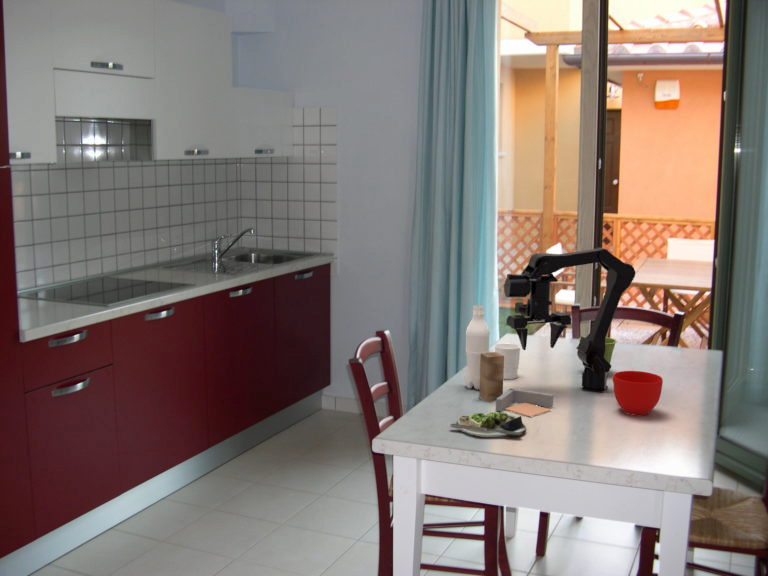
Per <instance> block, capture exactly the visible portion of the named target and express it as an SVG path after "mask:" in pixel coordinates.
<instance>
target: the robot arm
mask: <svg viewBox="0 0 768 576" xmlns="http://www.w3.org/2000/svg"><path fill="white" fill-rule="evenodd" d="M596 263H599V265H600V266H601V267H602V268H603V269H604V270H606V271H607V272H606V276H605V277H606V279H605V284H606V289H605V292H604V294H603V298H602V299H601V303H600V306H599V308H598V311H597V314H596V316H595V319H594V322H593V325H592V327H591V330H590V332H589V333H588V334H587V336H580V337H579V338H580V341H579V344H578V345H577V346H576V347H575V349H577V352H576V353H577V354H576V355H577V357H578V359H579V360H580V361H581V362H582V365H583V367H584V366H586V368H584V371H583V372H582V374H581V375H582V376H581V386H582V387H581V390H585V391H591V392H597V393H604V392H605V391H606V390H607V389H608V388H609V386H608V375H607V372H608V373H610V371H611V368H612V364H611V363H610V364H609V363H608V362H607V361H606V359H605V358H604V355H605V350H606V346H605V338H606V337H607V335H608V332H609V329H610V328H611V325H612V322H613V320H614V316H615V313H616V311H617V308H618V306H619V303H620V300H621V297H622V296H623V294H624V293H625V291H627V289H628V288H630V286H631V284H632V283H633V281H634V279H635V277H636V270H635V268H634V266H633V264H632V265H631V264H630V263H627V262H623V261H622V260H621V259H619V258H618V257H616V256H615V255H613V254H612V253H611V252H610V251H609V250H608V249H606V248H603V247H596V248H592V249H586V250H580V251H571V252H565V253H560V254H559V253H548V252H547V253H543V252H537V253H534V254H533V253H532V255H531V257H530V258H529V260H528V264H527V266H526V267H524V269H523V271H522V272H521V273H520V274H512V273H507V274H506V278H505V281H504V284H503V292H504V296H505V298H526V297H528V296H529V298H528V299H527V301H526V302H527V303H525V304H524V302H523V301H520V302H519V301H517V302H515V304H514V312H515V314H511V315H508V316H507V317H506V323H505V325H507V326H509V327H510V328H511V329H514V330H515V332H516V334H517V336H518V339H519V342H520V347H521V349H522V351H526V349H527V343H528V331H529V329H528V328H527V326H528V325H530V324H531V325H533V324H534V325H535V324H546V323H547V324H548V323H549V326H550V327H549V328H550V338H549V339H550V341H549V342H550V345H549V347H550V348H551V349H554V347H555V346H556V344H557V341H558V340H559V338H560V336H561V334H562V333H563V332H564V330H565V329H567V328H568V326H571V325H572V320H573V319H572V316H571V315H570V314H568V313H565V312H561V311H560V312H551V314H550V306H553V305H552V304H553V301H551V283H555V282H558V281H559V280H558V278H556V277H555V275H554V274H553V273H556V272H558V271H560V270H561V269H565V268H570V267H571V268H572V267H577V266H585V265H590V264H596ZM584 337H586V338H584Z"/></svg>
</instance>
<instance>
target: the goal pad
mask: <svg viewBox="0 0 768 576" xmlns="http://www.w3.org/2000/svg"><path fill="white" fill-rule="evenodd" d="M506 410H507V412H510V411H512V412H511V413H513V412H515V413H514V414H517V413H519V414H518V415H520V414H523V415H526V416H525V417H527V416H530V417H531V416H534V417H536V416H535V415H538V414H541V413H544V412H547V413H549V412H548V411H550V410H551V408H548V407H541V406H536V405H533V404H529V403H517V404H515V405H512V406H511V405H510V406H508V407H507V408H505V409H504V411H506ZM550 412H551V411H550ZM544 414H545V413H544ZM523 415H522V416H523ZM541 415H542V414H541ZM538 416H539V415H538ZM530 417H529V418H530ZM531 418H532V417H531Z"/></svg>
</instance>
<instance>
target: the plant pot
mask: <svg viewBox="0 0 768 576" xmlns="http://www.w3.org/2000/svg"><path fill="white" fill-rule="evenodd" d="M583 337H584V338H586V337H587V336H583ZM580 338H581V337H579V338H578V341H579V342H580ZM616 343H618V340H617V339H615V338H612V337H607V336H606V338H605V346H606V350H605V355H604V358H605V359H606V361H607V362H608V363H609V364H610V365H611V362H612V356H613V352H614V349H615V345H616ZM583 367H584V369H585V368H586V366H584V365H583ZM608 374H609V372H607V376H608Z"/></svg>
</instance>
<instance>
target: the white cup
mask: <svg viewBox="0 0 768 576" xmlns="http://www.w3.org/2000/svg"><path fill="white" fill-rule="evenodd" d="M494 352H497V353H499V354H501V355H503V356H504V374H503V380H515V379H517V378H518V373H519V371H518V370H519V364H520V355H521V345H519V344H516V343H511V342H510V343H508V342H507V343H506V342H502V343H496V344H495V345H494Z"/></svg>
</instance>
